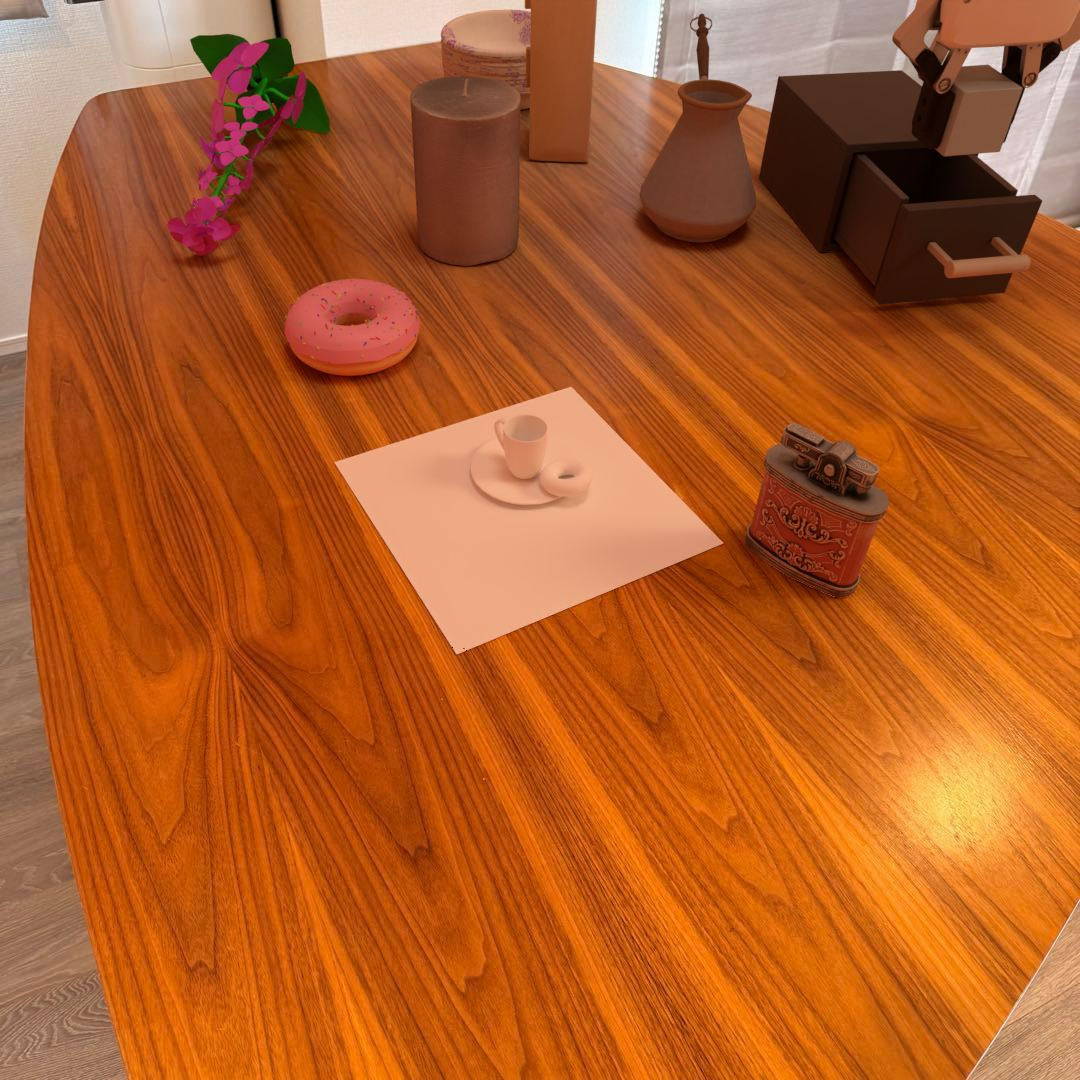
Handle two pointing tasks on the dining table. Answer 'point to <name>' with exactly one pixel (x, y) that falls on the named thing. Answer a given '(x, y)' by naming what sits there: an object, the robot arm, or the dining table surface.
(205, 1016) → the dining table surface
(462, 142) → the pillar candle
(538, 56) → the toy refrigerator
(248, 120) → the pink flower sprig
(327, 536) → the dining table surface
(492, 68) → the paper bowls
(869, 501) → the lighter
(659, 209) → the coffee pot
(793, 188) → the dark brown boxy casing
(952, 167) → the drawer
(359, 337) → the doughnut
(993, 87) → the block
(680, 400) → the dining table surface
